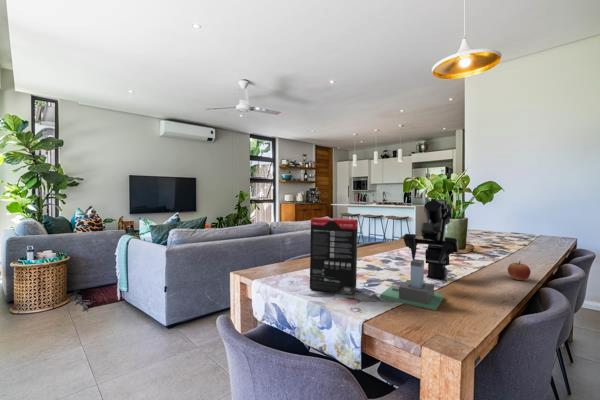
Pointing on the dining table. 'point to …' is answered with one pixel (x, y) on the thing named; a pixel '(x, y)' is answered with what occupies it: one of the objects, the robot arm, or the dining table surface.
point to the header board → (396, 295)
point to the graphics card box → (333, 255)
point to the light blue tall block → (417, 273)
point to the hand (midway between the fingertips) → (426, 261)
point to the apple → (519, 271)
